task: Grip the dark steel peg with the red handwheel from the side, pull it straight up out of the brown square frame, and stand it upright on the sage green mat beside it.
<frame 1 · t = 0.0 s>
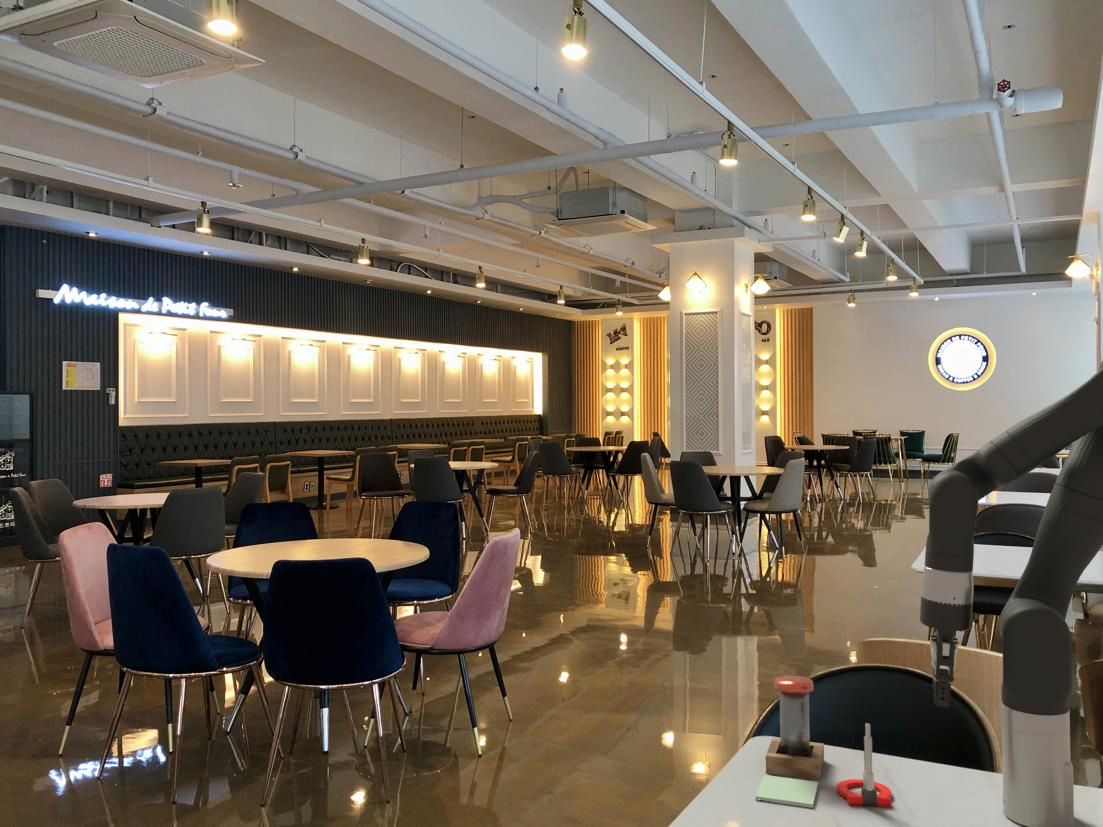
hand: (940, 697, 142), 17 cm above the table, tool pointing down, fingers open, 8 cm apart
sage mat: (787, 792, 148), on the table
tow hook: (864, 796, 147), on the table
steel peg: (794, 723, 159), in the brown square frame
brown square frame: (795, 766, 159), on the table
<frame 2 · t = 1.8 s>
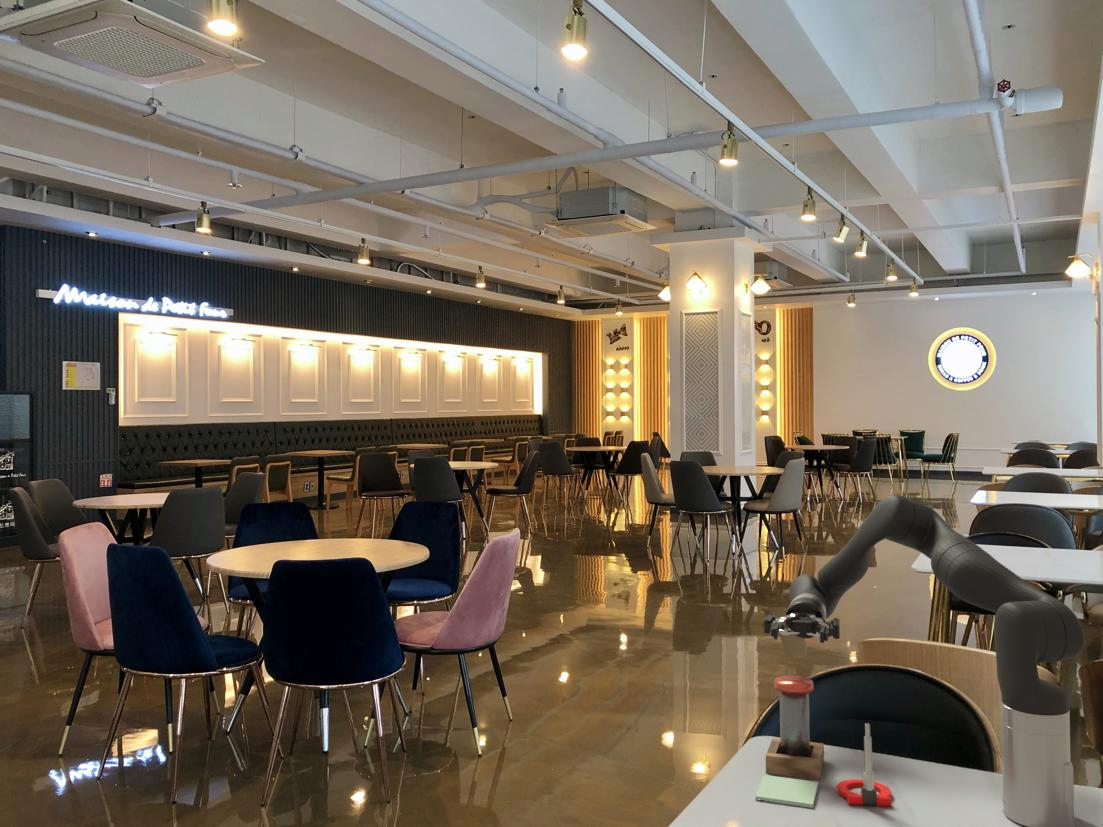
hand: (798, 635, 169), 21 cm above the table, tool horizontal, fingers open, 8 cm apart
nothing on the table moved.
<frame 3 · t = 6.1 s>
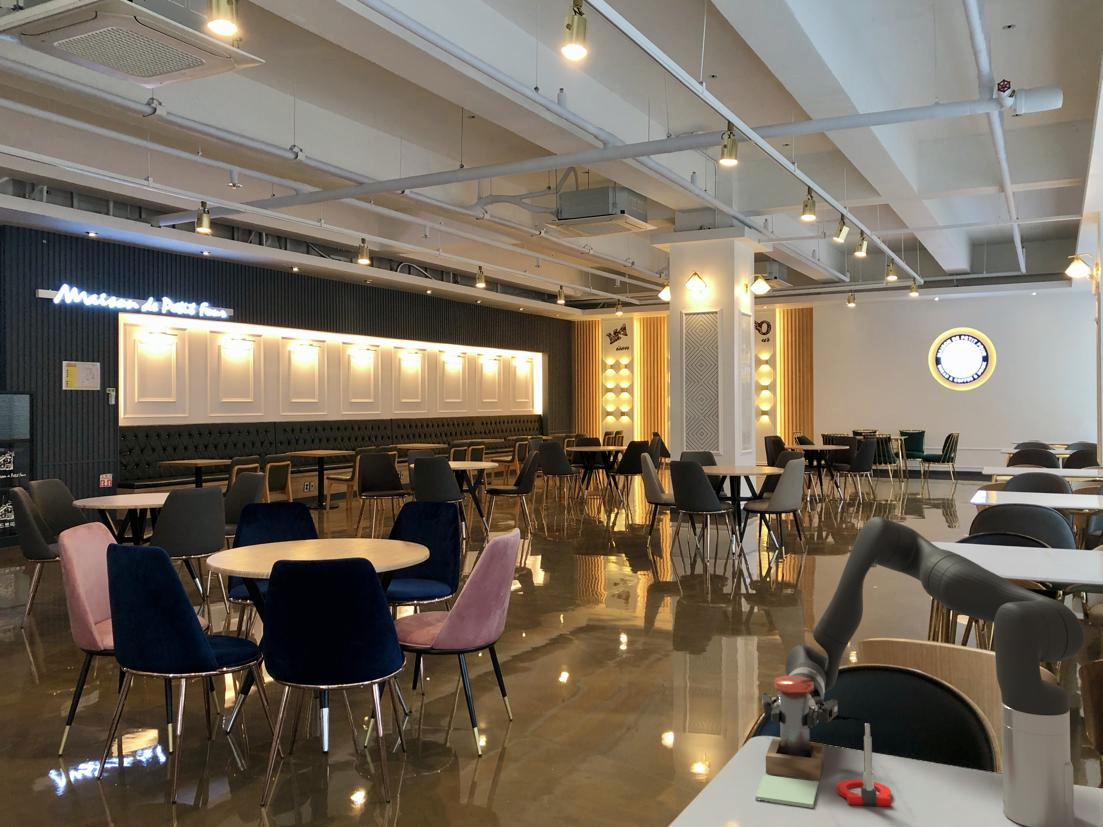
hand: (793, 720, 156), 9 cm above the table, tool horizontal, fingers closed on steel peg, 5 cm apart
steel peg: (794, 723, 159), in the brown square frame, touching gripper
everything else where it was.
when the fingers open (11 cm above the table, at t = 11.9 s): steel peg drops 1 cm, resting on sage mat.
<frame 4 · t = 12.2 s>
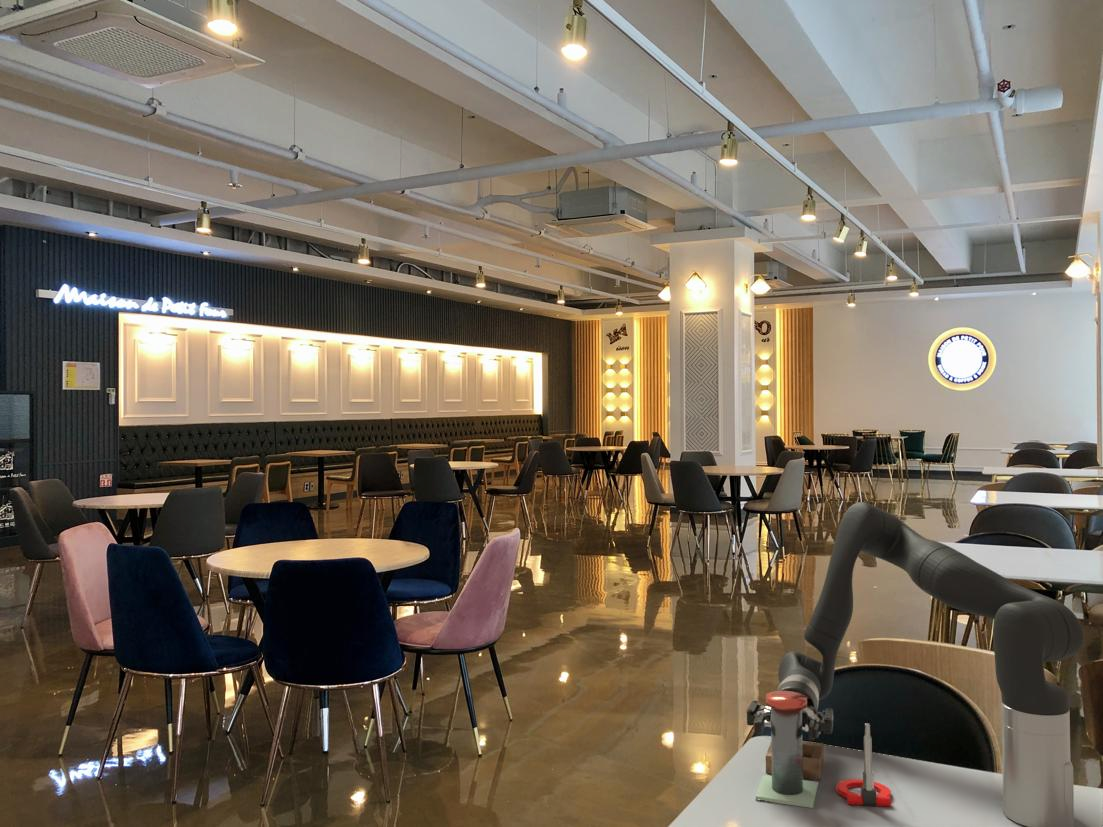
hand: (784, 731, 146), 11 cm above the table, tool horizontal, fingers open, 8 cm apart
steel peg: (786, 742, 148), on the sage mat, point 8 cm above the table
everything else where it was.
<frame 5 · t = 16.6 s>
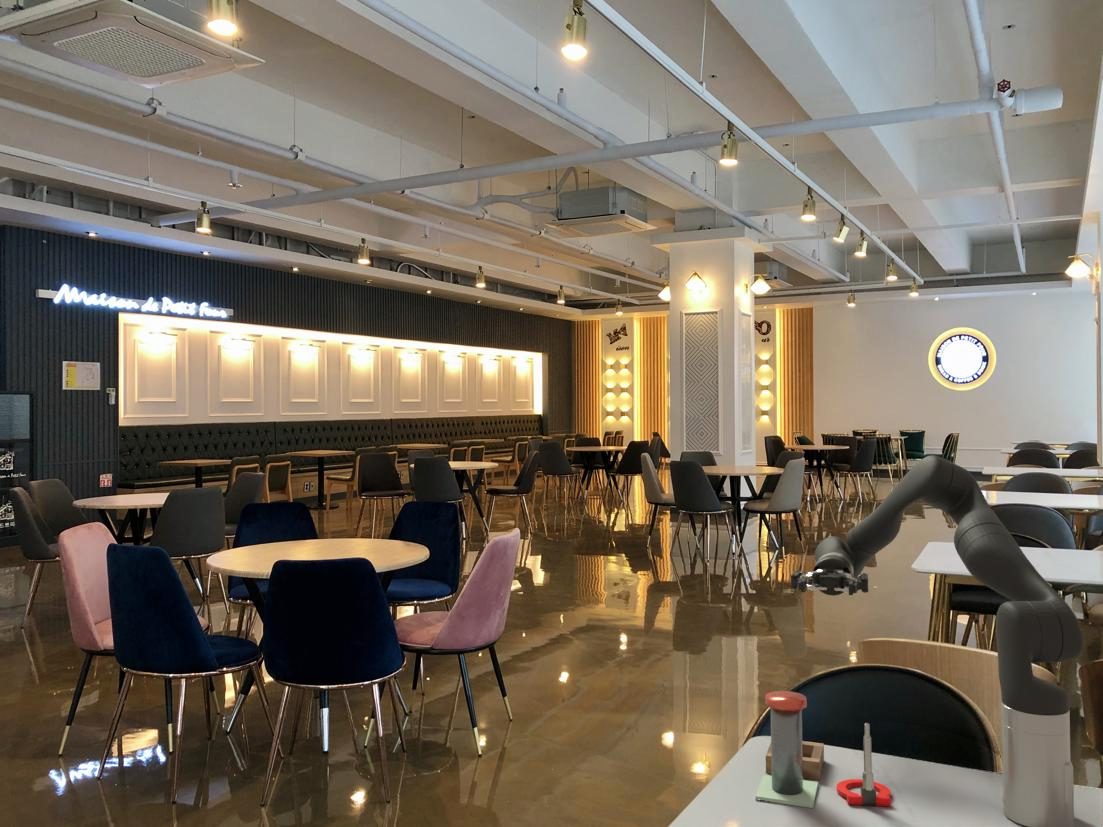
hand: (826, 588, 166), 30 cm above the table, tool horizontal, fingers open, 8 cm apart
nothing on the table moved.
at the end: steel peg inside the target area (0.1 cm from its centre), point 8.2 cm above the table; steel peg tilted 0°; the gripper is holding nothing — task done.
